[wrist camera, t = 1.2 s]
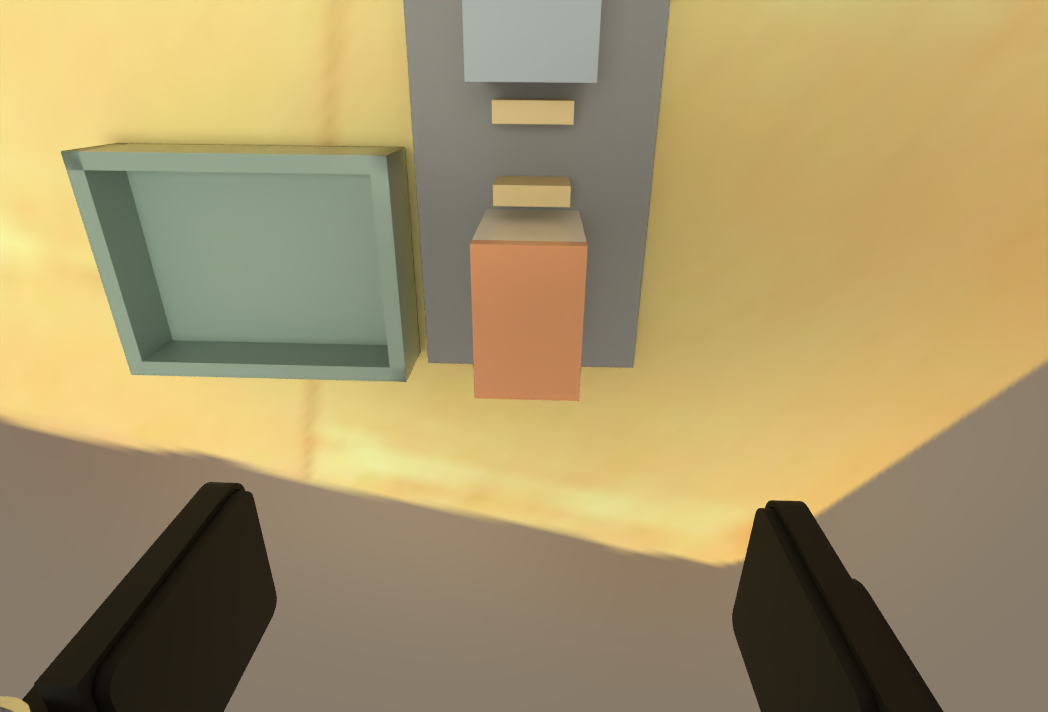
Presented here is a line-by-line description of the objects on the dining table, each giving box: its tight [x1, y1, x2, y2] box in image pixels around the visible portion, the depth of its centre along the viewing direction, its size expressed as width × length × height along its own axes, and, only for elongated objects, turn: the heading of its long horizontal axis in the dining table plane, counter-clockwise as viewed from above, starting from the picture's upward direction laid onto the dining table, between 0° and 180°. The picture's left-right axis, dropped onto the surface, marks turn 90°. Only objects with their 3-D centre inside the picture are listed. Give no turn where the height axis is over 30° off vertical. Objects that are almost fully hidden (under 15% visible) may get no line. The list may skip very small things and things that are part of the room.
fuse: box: [470, 209, 588, 401], centre depth 24 cm, size 4×6×6 cm, turn 0°
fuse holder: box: [404, 0, 670, 368], centre depth 22 cm, size 10×20×7 cm, turn 179°
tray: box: [61, 143, 420, 382], centre depth 26 cm, size 13×10×3 cm
